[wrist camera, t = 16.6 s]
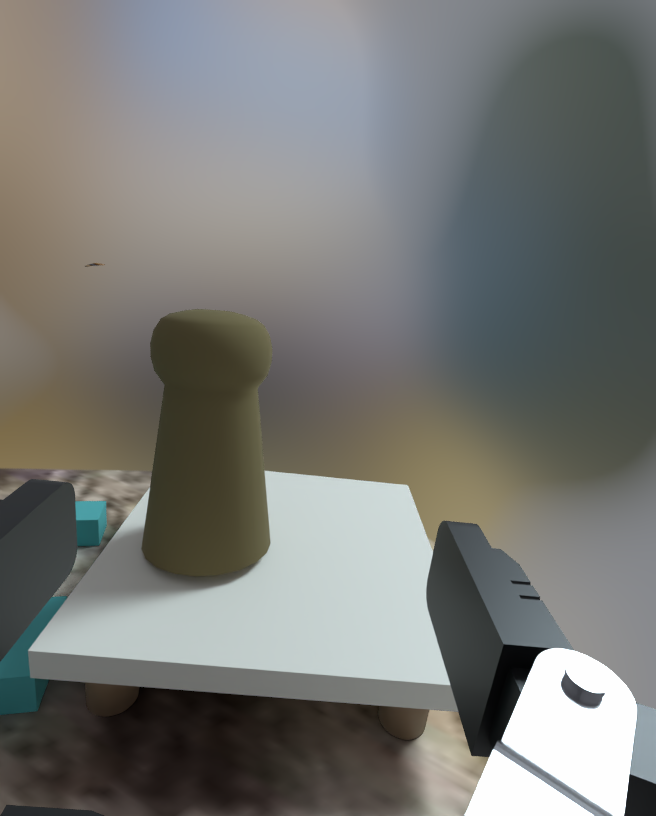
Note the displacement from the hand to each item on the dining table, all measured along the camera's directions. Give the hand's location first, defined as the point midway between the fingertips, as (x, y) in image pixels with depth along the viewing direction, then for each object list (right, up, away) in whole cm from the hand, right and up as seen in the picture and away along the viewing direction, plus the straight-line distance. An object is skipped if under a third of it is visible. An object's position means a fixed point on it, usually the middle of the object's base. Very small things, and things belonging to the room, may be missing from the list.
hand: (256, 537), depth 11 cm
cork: (-4, -4, +13) cm, 14 cm away
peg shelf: (-1, -8, +15) cm, 17 cm away
